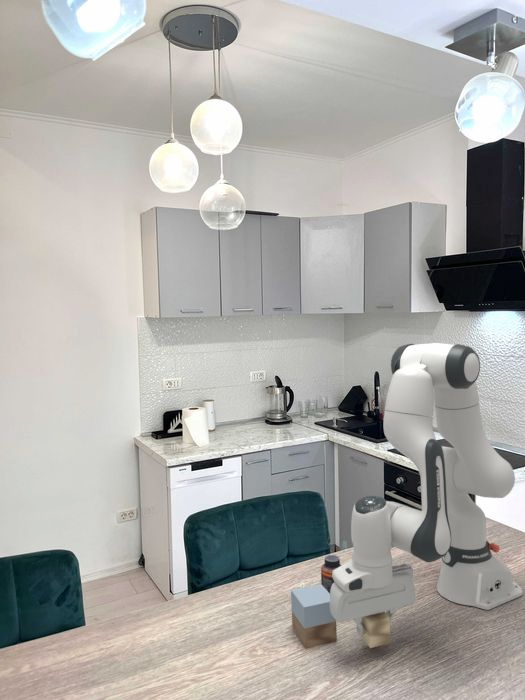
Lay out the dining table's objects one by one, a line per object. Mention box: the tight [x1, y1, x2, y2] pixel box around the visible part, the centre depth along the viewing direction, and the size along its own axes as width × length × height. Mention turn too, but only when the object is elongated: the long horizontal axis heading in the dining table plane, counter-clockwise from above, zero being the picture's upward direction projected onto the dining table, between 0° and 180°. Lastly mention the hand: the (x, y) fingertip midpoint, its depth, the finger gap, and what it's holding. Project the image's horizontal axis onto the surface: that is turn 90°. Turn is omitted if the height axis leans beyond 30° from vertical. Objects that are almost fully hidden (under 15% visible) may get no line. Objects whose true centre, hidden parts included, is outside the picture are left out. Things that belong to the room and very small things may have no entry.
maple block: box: [359, 611, 391, 649], centre depth 117 cm, size 5×5×6 cm
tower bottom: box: [291, 611, 338, 650], centre depth 123 cm, size 8×8×5 cm
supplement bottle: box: [320, 554, 343, 593], centre depth 138 cm, size 6×6×11 cm
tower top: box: [290, 583, 337, 629], centre depth 123 cm, size 8×8×5 cm
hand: (374, 629), depth 117 cm, fingers closed on maple block, 5 cm apart
